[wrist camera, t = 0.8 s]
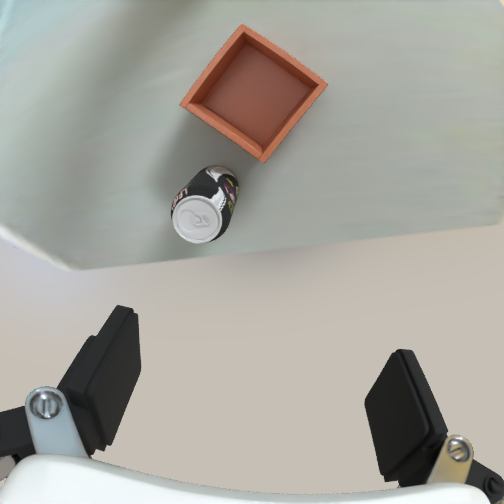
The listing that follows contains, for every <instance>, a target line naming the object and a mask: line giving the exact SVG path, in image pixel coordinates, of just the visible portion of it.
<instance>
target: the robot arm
mask: <svg viewBox="0 0 504 504" xmlns="http://www.w3.org/2000/svg"><path fill="white" fill-rule="evenodd" d="M140 358H141V357H140V344H139V324H138V314H136V313H134V310H133V309H132V308H129V307H124V306H120V305H117V306H116V307H115V309H114V310H113V312H112V313H111V315H110V316H109V318H108V319H107V321H106V322H105V324H104V325H103V327H102V328H101V330H100V331H99V333H98V335H97V336H93V335H92V336H90V337H89V338H88V339H87V340H86V342H85V343H84V345H83V346H82V348H81V349H80V351H79V353H78V354H77V356H76V357H75V359H74V360H73V362H72V364H71V365H70V367H69V369H68V370H67V372H66V373H65V375H64V377H63V378H62V380H61V381H60V383H59V385H58V386H57V388H53V387H49V386H45V387H39V388H36V389H34V390H33V391H32V392H30V394H29V395H28V396H27V398H26V401H25V406H22V407H18V408H15V409H11V410H7V411H3V412H0V481H1V480H3V479H4V478H6V480H5V482H4V484H3V486H2V487H1V489H0V504H504V480H503V479H502V477H501V476H499V475H498V474H497V473H495V472H493V471H492V470H490V469H488V468H487V467H485V466H484V465H482V464H480V463H479V462H477V461H475V460H474V459H473V455H474V451H473V447H472V445H471V443H470V442H469V441H468V440H467V439H466V438H464V437H463V436H460V435H451V436H449V437H448V436H447V434H446V433H447V432H448V429H447V427H446V424H445V422H444V419H443V417H442V414H441V412H440V410H439V407H438V405H437V402H436V400H435V398H434V396H433V393H432V391H431V389H430V386H429V384H428V382H427V380H426V378H425V375H424V373H423V371H422V369H421V367H420V365H419V363H418V361H417V359H416V356H415V354H414V352H413V351H412V350H406V349H398V350H396V352H394V353H392V354H391V356H390V357H389V359H388V361H387V363H386V365H385V367H384V368H383V370H382V372H381V373H380V375H379V377H378V378H377V380H376V382H375V383H374V385H373V387H372V388H371V390H370V391H369V393H368V395H367V397H366V398H365V409H366V413H367V417H368V421H369V426H370V430H371V434H372V438H373V443H374V447H375V451H376V456H377V461H378V466H379V470H380V473H381V475H383V476H384V480H385V482H390V481H397V480H398V482H399V486H398V487H397V488H396V489H388V490H379V491H370V492H358V493H341V494H279V493H261V492H250V491H240V490H231V489H223V488H216V487H210V486H203V485H197V484H192V483H186V482H181V481H177V480H172V479H167V478H162V477H158V476H154V475H150V474H145V473H142V472H138V471H134V470H130V469H127V468H123V467H120V466H116V465H112V464H109V463H105V462H101V461H97V460H94V459H92V457H91V455H93V454H94V452H95V450H96V449H98V450H101V451H105V448H106V445H109V446H110V445H112V443H113V440H114V438H115V435H116V433H117V430H118V427H119V425H120V422H121V420H122V417H123V415H124V412H125V409H126V407H127V404H128V402H129V399H130V397H131V395H132V392H133V390H134V387H135V385H136V382H137V380H138V377H139V375H140V372H141V359H140Z"/></svg>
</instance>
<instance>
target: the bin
mask: <svg viewBox="0 0 504 504" xmlns="http://www.w3.org/2000/svg"><path fill="white" fill-rule="evenodd" d="M327 86H328V84H327V83H326V82H325V81H324V80H323V79H321V78H320V77H319V76H317V75H316V74H315V73H314V72H312V71H311V70H310V69H308V68H307V67H306V66H304V65H303V64H302V63H300V62H299V61H298V60H296V59H295V58H293V57H292V56H291V55H289V54H288V53H286V52H285V51H284V50H282V49H281V48H279V47H278V46H276V45H275V44H273V43H272V42H270V41H269V40H267V39H266V38H264V37H263V36H261V35H260V34H258V33H257V32H255V31H253V30H252V29H250V28H249V27H247V26H245V25H244V24H241V25H240V26H239V27H238V29H237V30H236V31H235V32H234V33H233V35H232V36H231V37H230V38H229V39H228V41H227V42H226V43H225V44H224V45H223V47H222V48H221V49H220V50H219V52H218V53H217V54H216V55H215V57H214V58H213V59H212V61H211V62H210V63H209V64H208V66H207V67H206V68H205V70H204V71H203V72H202V74H201V75H200V76H199V78H198V79H197V80H196V82H195V83H194V85H193V86H192V87H191V89H190V90H189V92H188V93H187V94H186V96H185V97H184V99H183V100H182V102H181V103H180V104H179V105H180V106H182V107H183V108H185V109H186V110H188V111H189V112H191V113H192V114H194V115H195V116H197V117H198V118H200V119H201V120H203V121H204V122H206V123H207V124H209V125H210V126H212V127H213V128H215V129H216V130H217V131H219V132H220V133H222V134H223V135H225V136H226V137H228V138H229V139H230V140H232V141H233V142H235V143H236V144H237V145H239V146H240V147H242V148H243V149H244V150H246V151H247V152H249V153H250V154H251V155H253V156H254V157H255V158H257V159H259V160H260V161H261V162H262V163H265V161H266V160H267V159H268V158H269V156H270V155H271V154H272V153H273V151H274V150H275V149H276V148H277V146H278V145H279V144H280V143H281V141H282V140H283V139H284V138H285V136H286V135H287V134H288V133H289V131H290V130H291V129H292V128H293V127H294V125H295V124H296V123H297V122H298V120H299V119H300V118H301V117H302V116H303V114H304V113H305V112H306V111H307V109H308V108H309V107H310V106H311V105H312V103H313V102H314V101H315V100H316V99H317V97H318V96H319V95H320V94H321V93H322V92H323V90H324V89H325V88H326V87H327Z"/></svg>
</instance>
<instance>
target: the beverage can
mask: <svg viewBox="0 0 504 504" xmlns="http://www.w3.org/2000/svg"><path fill="white" fill-rule="evenodd" d="M238 194H239V185H238V181H237V179H236V177H235V176H234V175H233V173H232V172H230V171H229V170H228V169H226V168H223V167H220V166H210V167H207V168H205V169H203V170H201V171H200V172H199V173H198V174H197V175H196V176H195V177H194V178H193V179H192V180H191V181H190V182H189V183H188V184H187V185H186V186H185V187H184V188H183V189H182V190H181V191H180V192H179V193H178V194H177V196H176V197H175V199H174V201H173V203H172V207H171V218H172V222H173V225H174V228H175V230H176V232H177V233H178V234H179V235H180V236H181V237H182V238H183V239H184V240H186V241H188V242H191V243H196V244H202V243H206V242H211V241H213V240H215V239H217V238H219V237H220V236H221V235H222V234H223V233H224V232H225V231H226V229H227V228H228V225H229V223H230V220H231V217H232V213H233V210H234V207H235V204H236V201H237V198H238Z"/></svg>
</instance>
